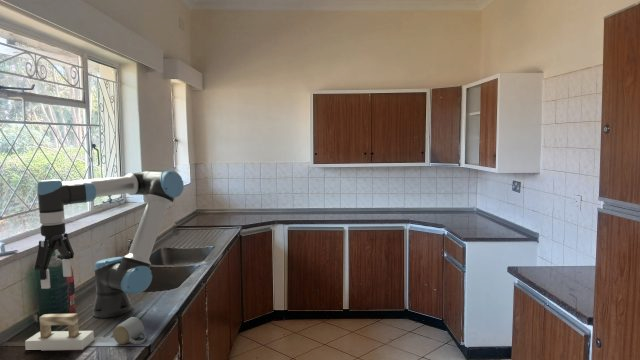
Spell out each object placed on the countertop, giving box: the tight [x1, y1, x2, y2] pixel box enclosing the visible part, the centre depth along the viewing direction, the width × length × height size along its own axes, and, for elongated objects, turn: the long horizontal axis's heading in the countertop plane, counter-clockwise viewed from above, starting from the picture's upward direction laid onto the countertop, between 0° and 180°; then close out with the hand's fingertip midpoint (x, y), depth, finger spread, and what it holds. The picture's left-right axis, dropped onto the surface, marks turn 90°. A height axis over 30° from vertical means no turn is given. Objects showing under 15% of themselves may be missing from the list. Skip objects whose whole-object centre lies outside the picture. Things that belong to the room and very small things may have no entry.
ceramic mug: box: [112, 316, 147, 345], centre depth 164 cm, size 11×8×8 cm
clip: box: [38, 313, 80, 339], centre depth 162 cm, size 12×3×11 cm, turn 90°
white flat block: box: [24, 330, 95, 351], centre depth 162 cm, size 20×8×4 cm, turn 90°
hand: (57, 282), depth 162 cm, fingers open, 13 cm apart
